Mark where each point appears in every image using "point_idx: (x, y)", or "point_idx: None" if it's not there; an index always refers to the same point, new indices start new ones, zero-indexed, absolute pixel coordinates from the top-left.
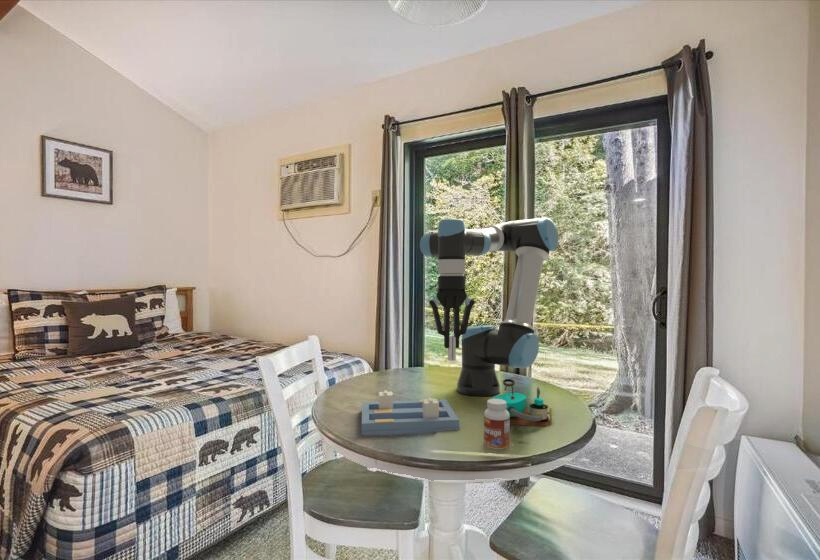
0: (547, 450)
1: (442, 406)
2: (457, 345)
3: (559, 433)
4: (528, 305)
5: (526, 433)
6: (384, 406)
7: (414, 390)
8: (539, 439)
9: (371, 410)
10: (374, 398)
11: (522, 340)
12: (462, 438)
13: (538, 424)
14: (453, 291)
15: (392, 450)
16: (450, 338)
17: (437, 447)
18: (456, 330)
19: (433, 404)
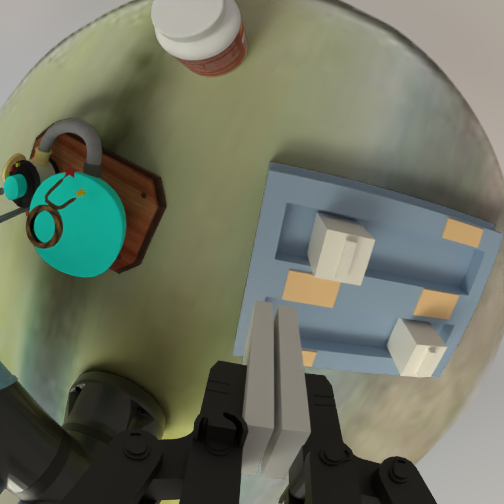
0: (116, 14)
1: None
2: (225, 376)
3: (41, 104)
4: None
5: (102, 113)
6: (425, 328)
7: None
8: (95, 72)
9: (453, 318)
10: (364, 431)
11: None
12: (280, 118)
13: (58, 141)
14: None
15: (461, 119)
16: (299, 422)
17: (366, 88)
18: (224, 486)
19: (344, 232)
